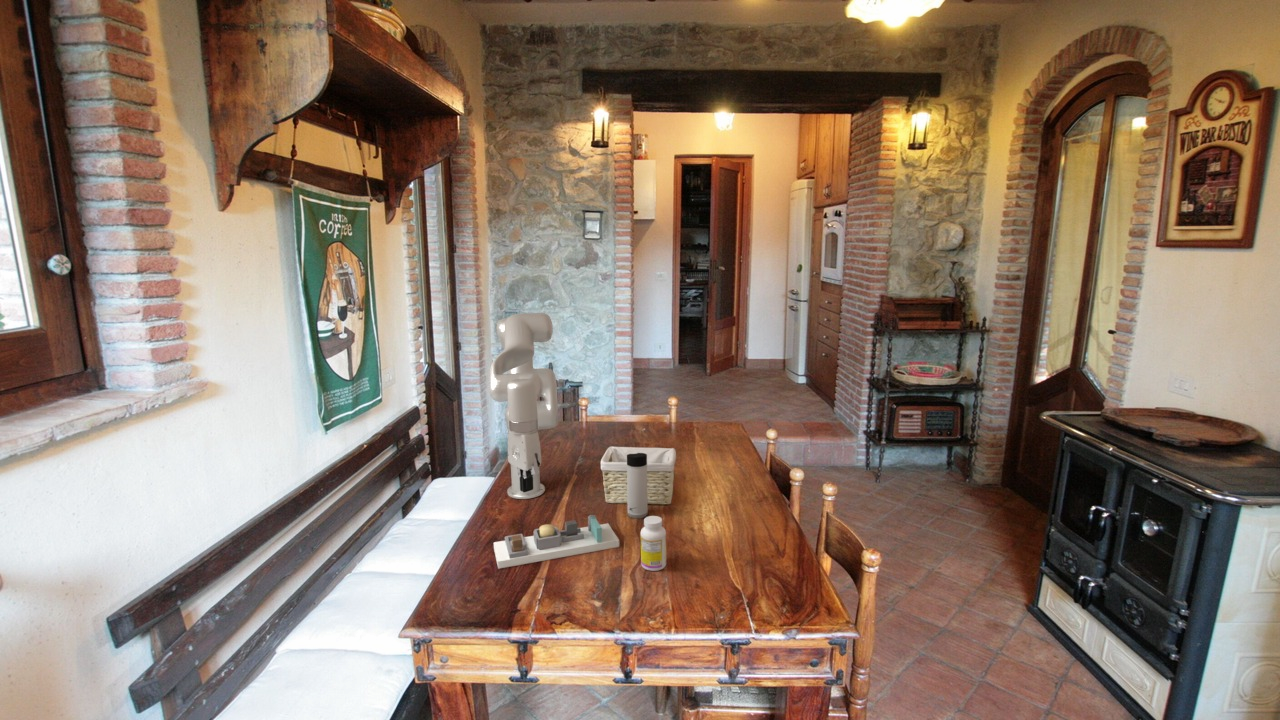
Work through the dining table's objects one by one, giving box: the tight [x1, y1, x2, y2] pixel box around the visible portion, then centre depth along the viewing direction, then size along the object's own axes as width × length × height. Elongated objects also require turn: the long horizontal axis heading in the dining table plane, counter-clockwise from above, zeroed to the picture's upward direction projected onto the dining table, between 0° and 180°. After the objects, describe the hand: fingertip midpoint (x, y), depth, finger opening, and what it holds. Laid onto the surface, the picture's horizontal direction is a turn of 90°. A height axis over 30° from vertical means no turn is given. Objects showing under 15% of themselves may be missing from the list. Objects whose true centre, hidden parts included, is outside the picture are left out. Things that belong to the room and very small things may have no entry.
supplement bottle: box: [640, 515, 667, 572], centre depth 154 cm, size 7×7×13 cm
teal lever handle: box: [587, 514, 602, 542], centre depth 167 cm, size 9×2×4 cm, turn 19°
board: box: [493, 522, 620, 570], centre depth 164 cm, size 11×33×6 cm, turn 109°
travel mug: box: [626, 453, 649, 519], centre depth 183 cm, size 6×7×20 cm
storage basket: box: [600, 445, 677, 505], centre depth 198 cm, size 24×16×15 cm
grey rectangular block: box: [564, 519, 578, 537], centre depth 167 cm, size 2×3×4 cm
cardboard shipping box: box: [512, 533, 523, 552], centre depth 158 cm, size 3×2×4 cm
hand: (526, 490), depth 162 cm, fingers closed
